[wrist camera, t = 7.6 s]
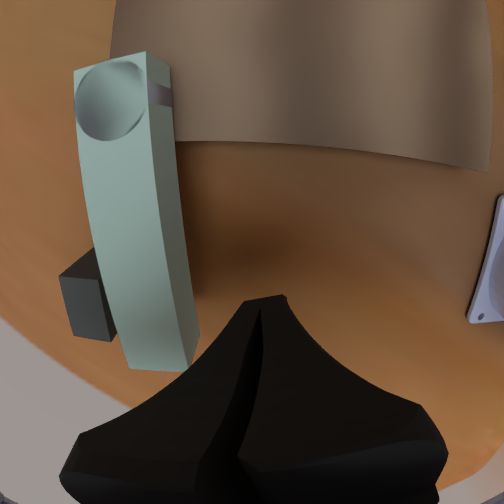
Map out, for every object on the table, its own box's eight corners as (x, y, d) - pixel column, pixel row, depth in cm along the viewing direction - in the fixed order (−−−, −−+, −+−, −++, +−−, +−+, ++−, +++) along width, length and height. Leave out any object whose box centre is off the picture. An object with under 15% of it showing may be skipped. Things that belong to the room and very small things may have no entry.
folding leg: (107, 78, 10) (72, 70, 8) (170, 64, 10) (147, 49, 7) (146, 333, 14) (128, 368, 12) (201, 334, 14) (190, 372, 11)
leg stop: (135, 242, 15) (97, 280, 11) (141, 295, 16) (111, 342, 12) (101, 241, 15) (58, 276, 11) (108, 292, 16) (73, 335, 12)
